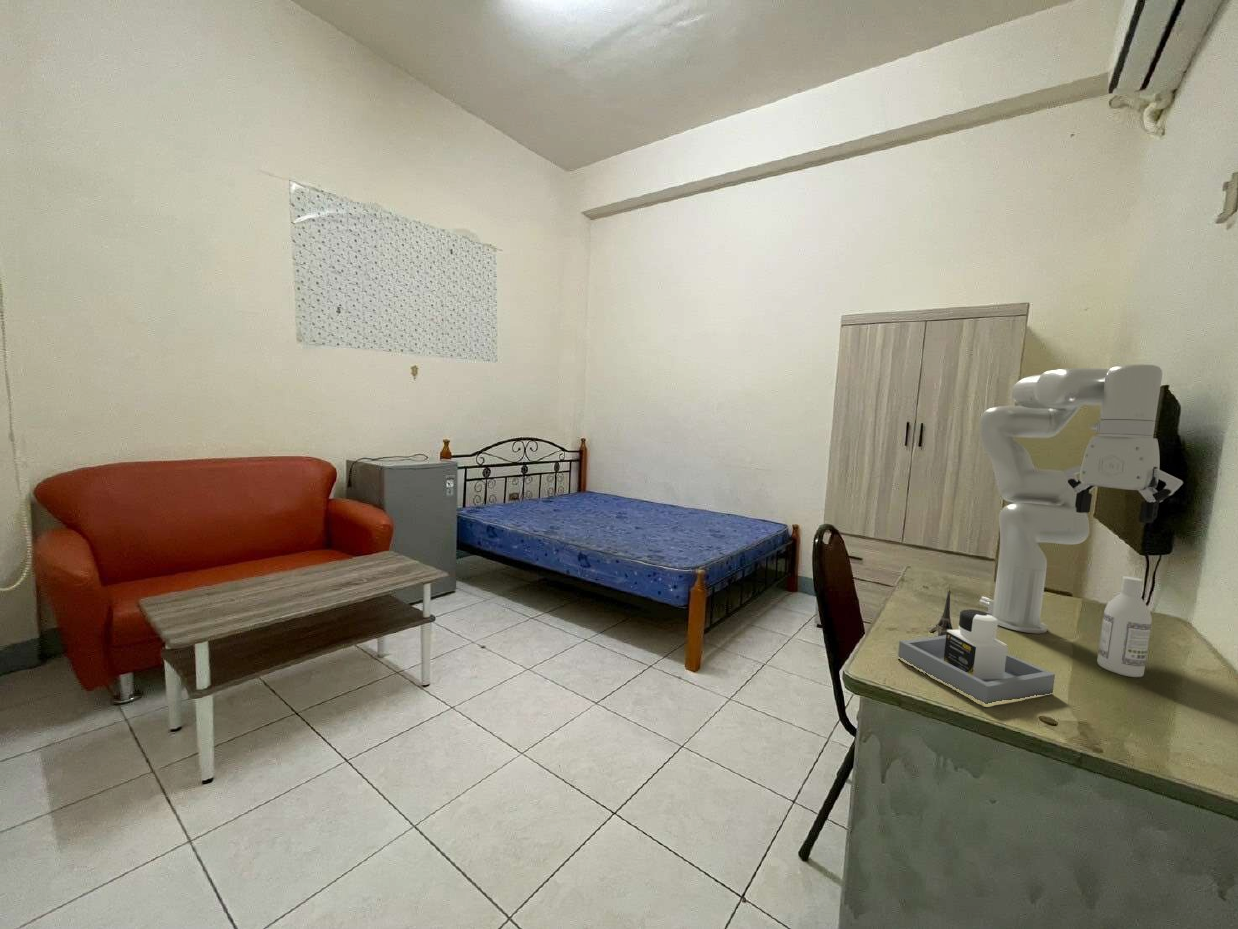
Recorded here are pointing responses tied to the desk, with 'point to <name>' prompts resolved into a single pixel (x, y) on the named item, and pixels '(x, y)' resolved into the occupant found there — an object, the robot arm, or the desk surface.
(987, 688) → the tray
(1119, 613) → the bath foam
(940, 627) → the eiffel tower figurine
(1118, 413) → the robot arm
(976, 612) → the medicine bottle
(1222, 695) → the desk surface
